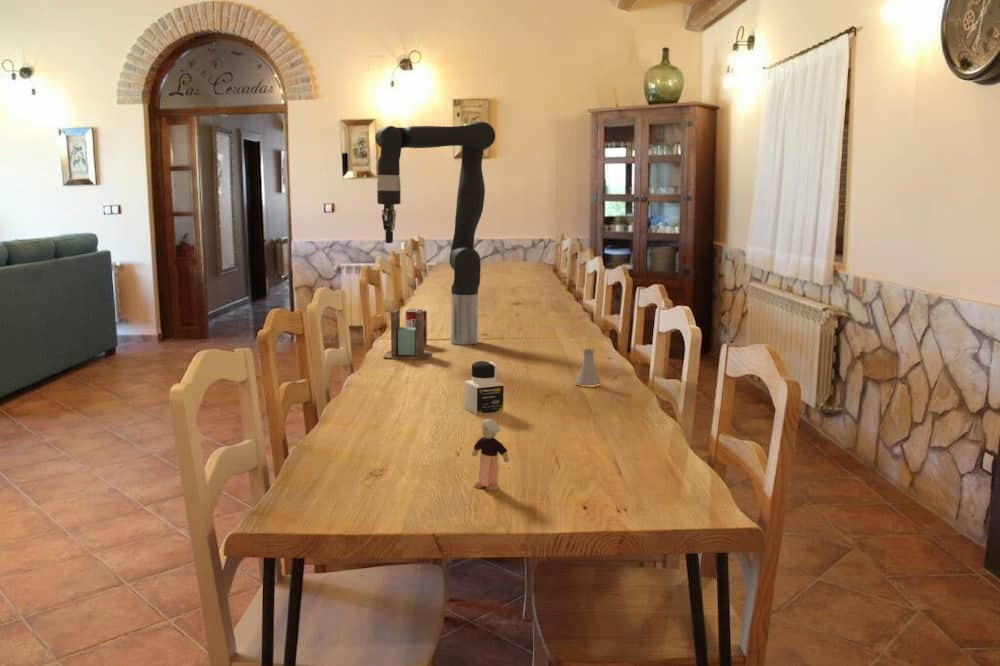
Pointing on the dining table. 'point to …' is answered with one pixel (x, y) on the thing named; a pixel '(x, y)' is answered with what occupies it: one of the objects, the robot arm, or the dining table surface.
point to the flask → (588, 370)
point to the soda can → (412, 321)
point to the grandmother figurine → (489, 455)
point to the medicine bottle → (484, 390)
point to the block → (407, 341)
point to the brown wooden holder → (419, 337)
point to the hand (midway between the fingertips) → (389, 242)
